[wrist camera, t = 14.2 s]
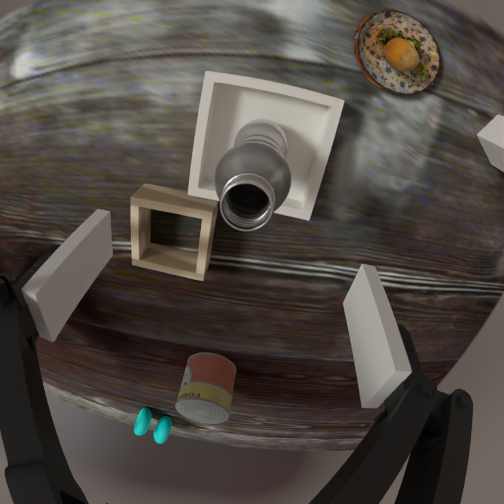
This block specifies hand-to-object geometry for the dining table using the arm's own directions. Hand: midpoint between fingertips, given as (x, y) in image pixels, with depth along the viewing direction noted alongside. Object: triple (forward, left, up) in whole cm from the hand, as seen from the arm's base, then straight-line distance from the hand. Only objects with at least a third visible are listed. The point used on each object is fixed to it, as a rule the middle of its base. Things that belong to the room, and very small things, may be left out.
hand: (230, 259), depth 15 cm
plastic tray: (0, 0, -27) cm, 27 cm away
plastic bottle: (0, 0, -26) cm, 26 cm away
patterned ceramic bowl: (+17, -14, -28) cm, 35 cm away
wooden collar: (-15, +10, -27) cm, 32 cm away
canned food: (-50, +1, -27) cm, 57 cm away
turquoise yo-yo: (-85, +16, -27) cm, 91 cm away
